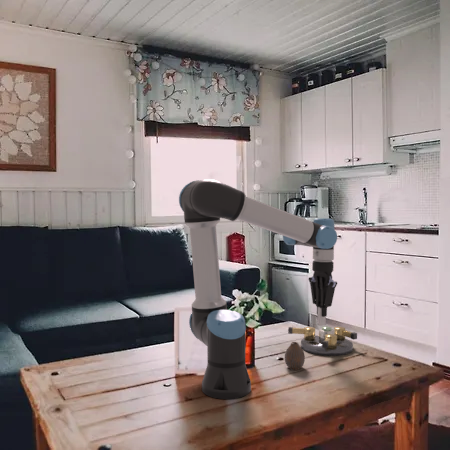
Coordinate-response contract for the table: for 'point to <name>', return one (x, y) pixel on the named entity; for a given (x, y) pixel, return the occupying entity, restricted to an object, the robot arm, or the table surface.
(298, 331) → the knob
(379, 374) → the table surface
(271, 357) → the table surface
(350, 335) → the brass elongated piece
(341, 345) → the levelling base
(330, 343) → the knob
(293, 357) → the brown egg-shaped piece
